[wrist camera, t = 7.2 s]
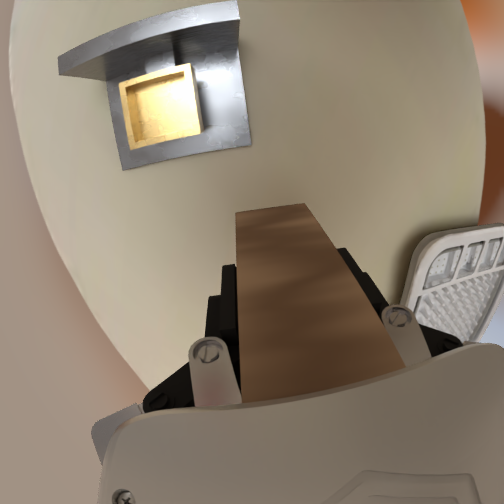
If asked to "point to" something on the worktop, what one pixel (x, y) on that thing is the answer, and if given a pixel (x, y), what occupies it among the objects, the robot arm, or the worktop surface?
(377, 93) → the worktop surface
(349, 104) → the worktop surface
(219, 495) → the robot arm
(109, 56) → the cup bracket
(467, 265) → the dish rack
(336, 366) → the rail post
